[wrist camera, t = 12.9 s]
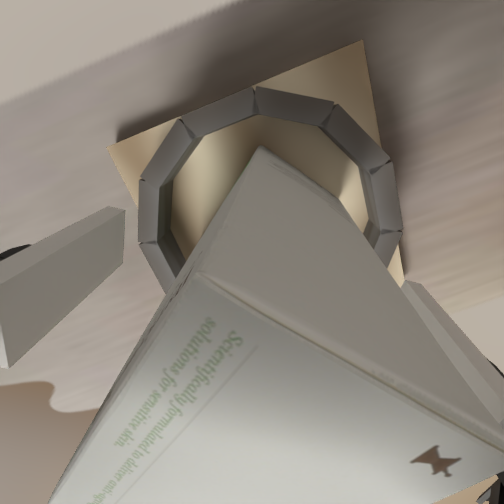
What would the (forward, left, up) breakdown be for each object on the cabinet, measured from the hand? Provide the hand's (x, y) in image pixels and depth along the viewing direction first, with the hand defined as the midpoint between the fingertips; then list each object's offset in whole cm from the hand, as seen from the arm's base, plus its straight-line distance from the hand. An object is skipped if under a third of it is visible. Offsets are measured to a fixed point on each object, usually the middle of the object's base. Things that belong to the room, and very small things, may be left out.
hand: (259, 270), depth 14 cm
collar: (0, 0, -8) cm, 8 cm away
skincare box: (0, 0, -7) cm, 7 cm away
